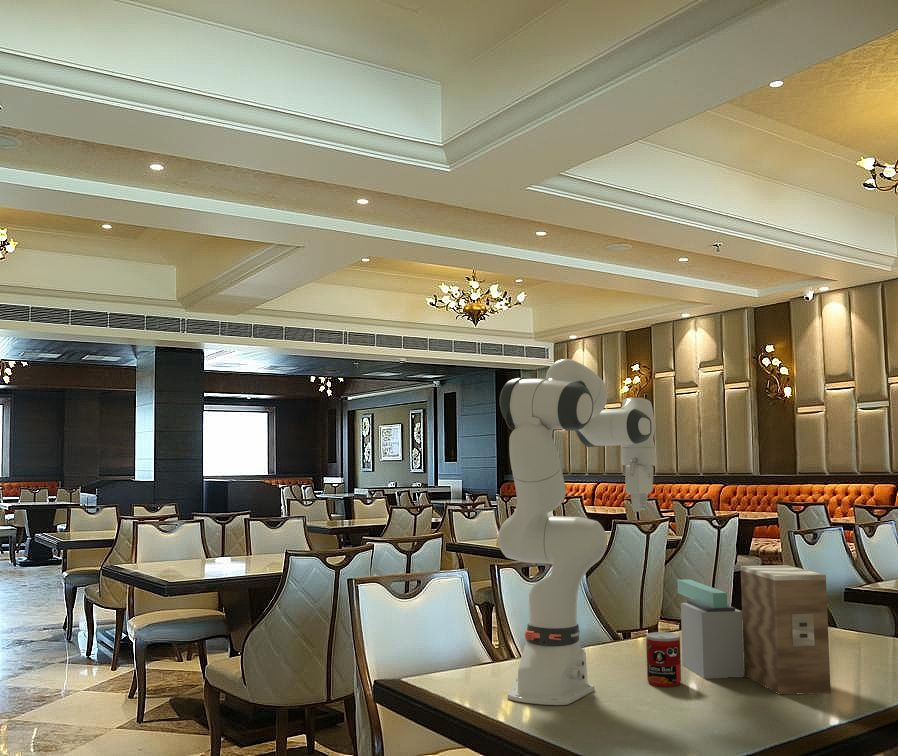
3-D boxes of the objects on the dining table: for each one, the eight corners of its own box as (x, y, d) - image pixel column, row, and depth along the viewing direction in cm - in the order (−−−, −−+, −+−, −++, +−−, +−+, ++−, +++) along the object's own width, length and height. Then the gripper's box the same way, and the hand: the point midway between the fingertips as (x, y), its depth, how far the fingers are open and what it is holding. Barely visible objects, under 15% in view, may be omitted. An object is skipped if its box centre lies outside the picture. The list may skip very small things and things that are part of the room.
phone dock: (682, 665, 226) (680, 599, 227) (720, 664, 227) (718, 598, 228) (703, 678, 212) (701, 609, 213) (744, 677, 213) (741, 608, 214)
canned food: (643, 685, 206) (642, 636, 207) (652, 677, 213) (651, 630, 214) (676, 689, 203) (675, 639, 204) (684, 681, 210) (683, 633, 211)
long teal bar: (677, 592, 238) (677, 579, 239) (690, 592, 239) (689, 579, 239) (713, 607, 215) (712, 593, 215) (727, 607, 215) (726, 592, 215)
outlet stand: (744, 675, 215) (740, 566, 217) (791, 673, 216) (787, 565, 218) (780, 695, 197) (776, 576, 199) (832, 693, 198) (827, 575, 200)
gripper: (643, 457, 227) (644, 512, 225) (656, 459, 246) (657, 510, 244) (618, 457, 229) (619, 512, 228) (633, 459, 248) (634, 509, 247)
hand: (639, 511), depth 236 cm, fingers open, 8 cm apart
